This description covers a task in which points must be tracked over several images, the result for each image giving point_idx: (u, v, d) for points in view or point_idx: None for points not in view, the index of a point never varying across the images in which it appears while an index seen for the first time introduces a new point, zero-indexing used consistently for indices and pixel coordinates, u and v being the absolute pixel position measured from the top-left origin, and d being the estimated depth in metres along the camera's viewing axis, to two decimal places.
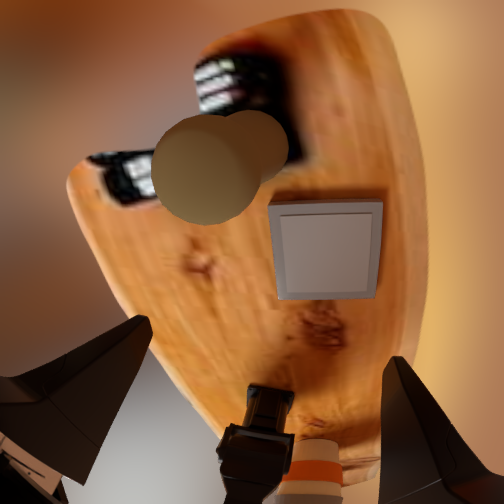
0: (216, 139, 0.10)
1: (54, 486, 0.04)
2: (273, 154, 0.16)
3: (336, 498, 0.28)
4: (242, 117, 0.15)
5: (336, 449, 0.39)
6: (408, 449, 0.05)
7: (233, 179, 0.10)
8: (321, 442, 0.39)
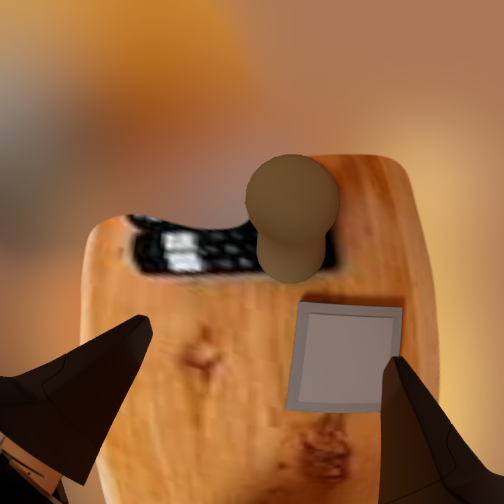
0: (318, 166, 0.13)
1: (54, 486, 0.04)
2: None
3: None
4: None
5: None
6: (408, 449, 0.05)
7: (326, 194, 0.13)
8: None
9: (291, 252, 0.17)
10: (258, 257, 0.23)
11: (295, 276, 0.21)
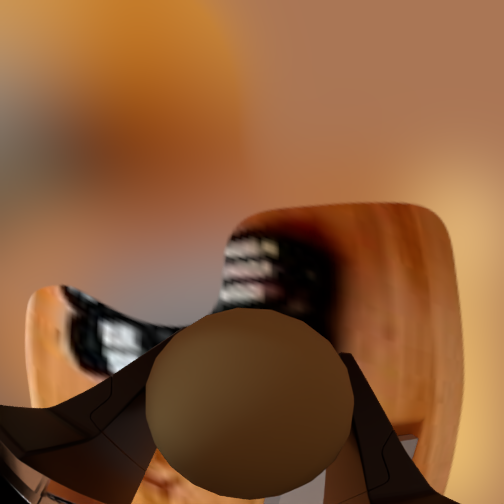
0: (312, 371, 0.05)
1: None
2: None
3: None
4: None
5: None
6: (344, 452, 0.05)
7: (321, 449, 0.04)
8: None
9: None
10: None
11: None
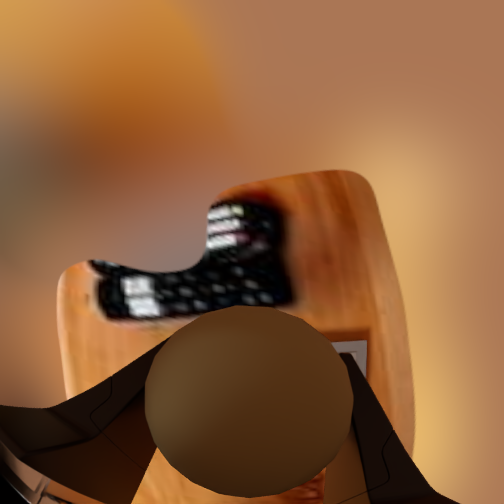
0: (311, 368, 0.05)
1: None
2: None
3: None
4: None
5: None
6: (344, 452, 0.05)
7: (320, 446, 0.04)
8: None
9: None
10: None
11: None
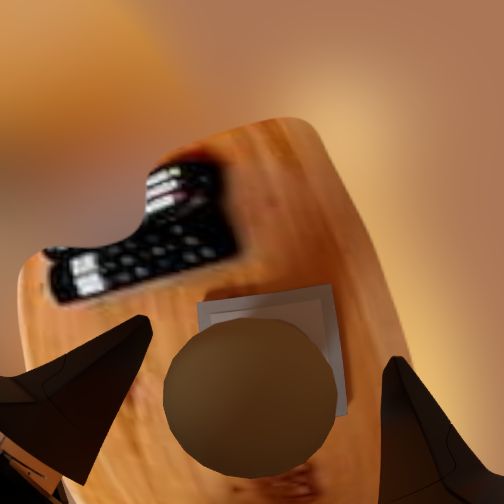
0: (301, 370, 0.06)
1: (54, 486, 0.04)
2: None
3: None
4: None
5: None
6: (408, 449, 0.05)
7: (308, 434, 0.05)
8: None
9: None
10: None
11: None
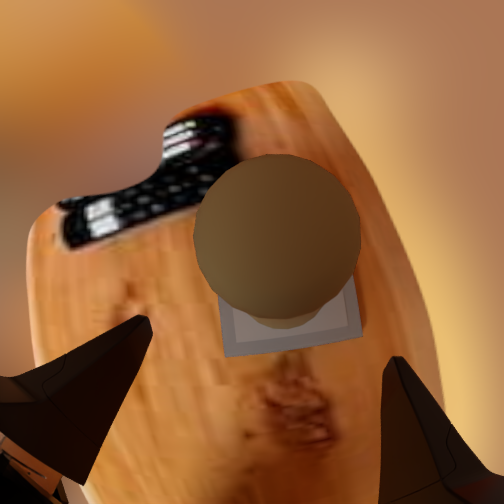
0: (325, 176, 0.07)
1: (54, 486, 0.04)
2: None
3: None
4: None
5: None
6: (408, 449, 0.05)
7: (340, 234, 0.07)
8: None
9: None
10: None
11: (286, 325, 0.15)
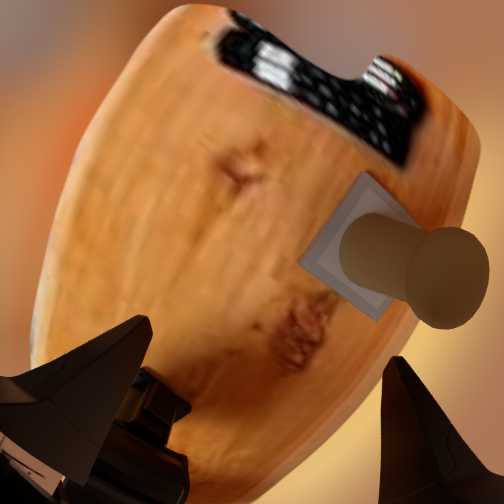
0: (487, 284, 0.10)
1: (54, 486, 0.04)
2: None
3: None
4: None
5: None
6: (408, 449, 0.05)
7: (472, 314, 0.10)
8: None
9: (395, 293, 0.14)
10: (347, 235, 0.19)
11: (360, 284, 0.19)
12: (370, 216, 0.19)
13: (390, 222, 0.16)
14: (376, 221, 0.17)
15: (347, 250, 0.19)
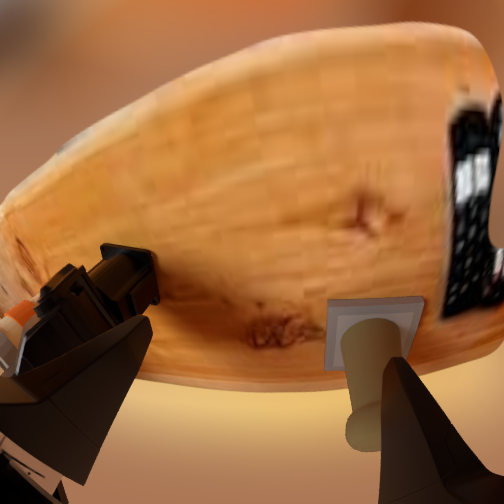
0: None
1: (54, 486, 0.04)
2: None
3: None
4: None
5: None
6: (408, 449, 0.05)
7: (365, 451, 0.14)
8: None
9: (352, 394, 0.18)
10: (371, 324, 0.21)
11: (343, 354, 0.22)
12: (393, 329, 0.21)
13: (396, 354, 0.18)
14: (392, 341, 0.19)
15: (360, 333, 0.21)
